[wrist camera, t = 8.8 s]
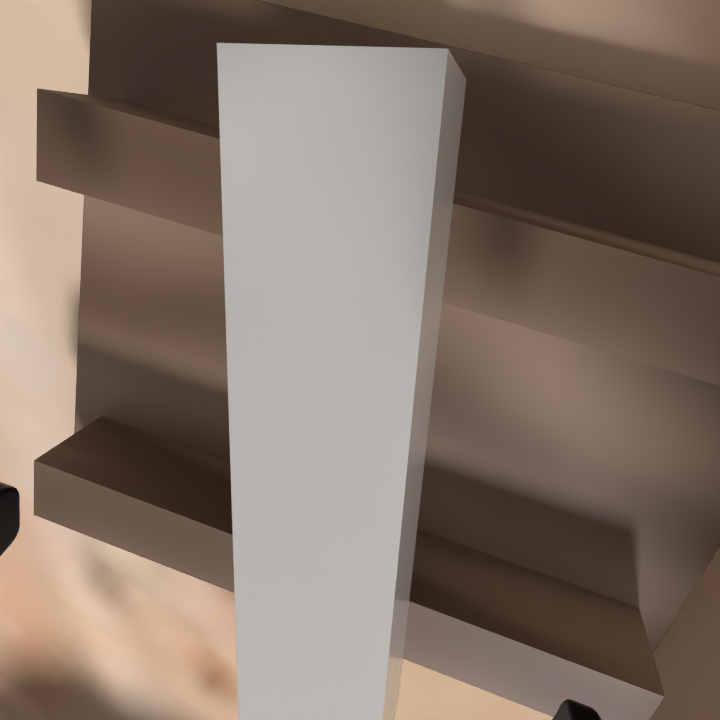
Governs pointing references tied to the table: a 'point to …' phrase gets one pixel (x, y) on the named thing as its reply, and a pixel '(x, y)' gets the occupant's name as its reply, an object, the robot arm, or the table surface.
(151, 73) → the walnut rack
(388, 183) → the light gray rectangular bar
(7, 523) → the robot arm
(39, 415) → the table surface
